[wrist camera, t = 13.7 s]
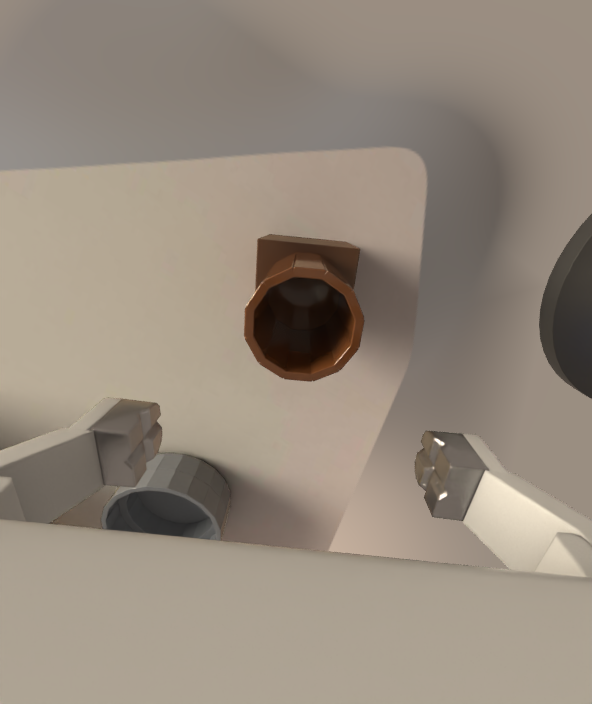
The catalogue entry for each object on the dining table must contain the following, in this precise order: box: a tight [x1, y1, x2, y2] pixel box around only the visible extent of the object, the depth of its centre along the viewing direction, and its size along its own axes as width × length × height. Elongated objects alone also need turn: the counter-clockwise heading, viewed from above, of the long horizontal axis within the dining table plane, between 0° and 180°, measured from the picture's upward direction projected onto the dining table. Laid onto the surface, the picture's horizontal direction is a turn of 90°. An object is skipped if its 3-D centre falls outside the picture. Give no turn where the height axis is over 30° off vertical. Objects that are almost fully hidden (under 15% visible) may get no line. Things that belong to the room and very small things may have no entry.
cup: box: [244, 253, 364, 381], centre depth 20 cm, size 6×6×8 cm
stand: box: [255, 234, 360, 291], centre depth 27 cm, size 7×7×8 cm
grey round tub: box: [101, 453, 231, 541], centre depth 40 cm, size 14×14×6 cm
